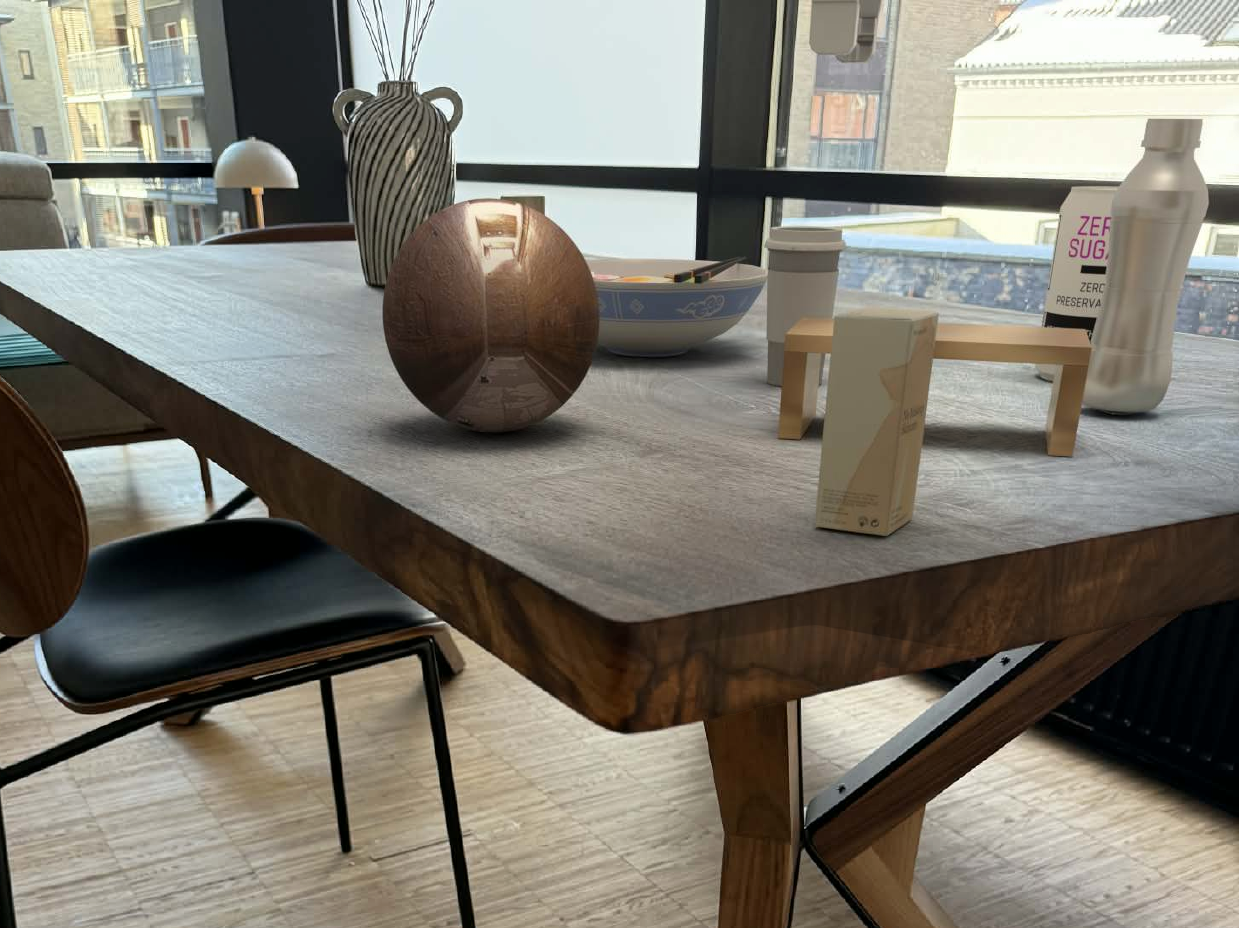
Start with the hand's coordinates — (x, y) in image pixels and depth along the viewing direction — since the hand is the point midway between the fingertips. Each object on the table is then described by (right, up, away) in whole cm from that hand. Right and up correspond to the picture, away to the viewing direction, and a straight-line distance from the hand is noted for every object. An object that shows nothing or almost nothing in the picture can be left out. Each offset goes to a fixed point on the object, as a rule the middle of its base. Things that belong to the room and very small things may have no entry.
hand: (843, 59), depth 59 cm
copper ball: (-18, -4, +38) cm, 42 cm away
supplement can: (+32, +8, +60) cm, 68 cm away
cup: (+7, +6, +57) cm, 57 cm away
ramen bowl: (-5, +14, +71) cm, 73 cm away
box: (+4, -16, +16) cm, 24 cm away
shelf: (+13, -4, +38) cm, 40 cm away
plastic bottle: (+30, 0, +46) cm, 55 cm away
